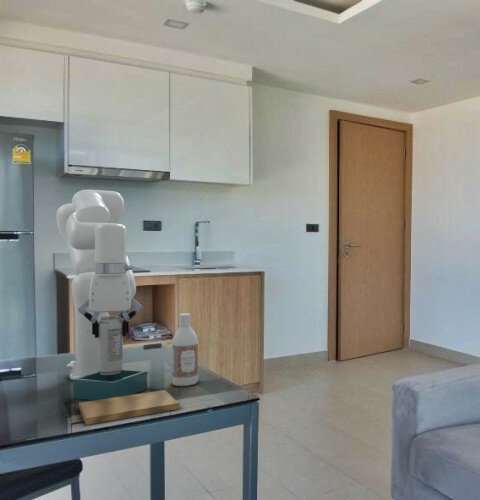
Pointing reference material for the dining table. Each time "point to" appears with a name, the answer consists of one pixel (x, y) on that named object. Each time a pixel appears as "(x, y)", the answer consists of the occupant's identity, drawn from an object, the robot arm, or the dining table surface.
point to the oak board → (127, 406)
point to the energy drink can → (110, 345)
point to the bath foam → (185, 354)
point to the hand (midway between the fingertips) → (110, 335)
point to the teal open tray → (109, 385)
